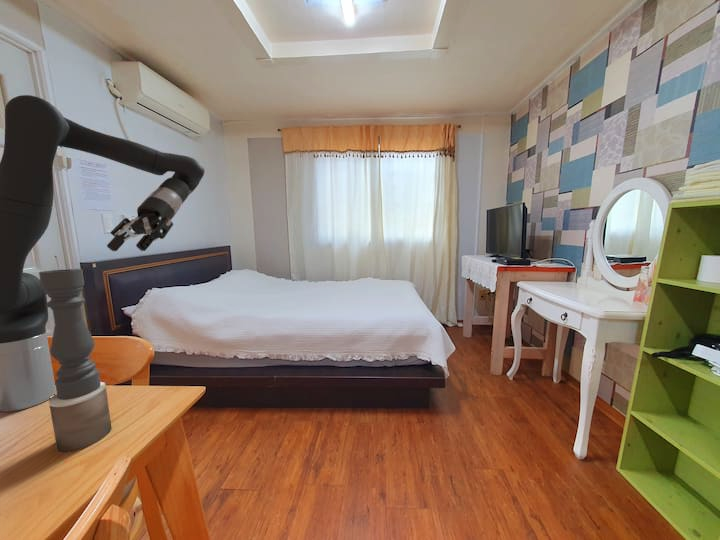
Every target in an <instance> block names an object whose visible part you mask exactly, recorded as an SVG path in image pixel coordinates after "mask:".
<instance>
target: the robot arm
mask: <svg viewBox="0 0 720 540" xmlns="http://www.w3.org/2000/svg"><path fill="white" fill-rule="evenodd" d="M58 147H63V148H66V149H72V150H76V151H80V152H83V153H88V154H92V155H95V156H98V157H101V158H105V159H107V160H111V161H114V162H116V163H119V164H122V165H126V166H128V167H131V168H134V169H137V170H141V171H143V172H146V173H150V174H153V175H155V176H164V175H165V174H167V173H168V172H171V173H173V172H174V173H173V175H172V176H171V177H168V178H166V179H165V180H163V182H162V183H160V185H159V186H158V187H157V188H156V189H154V190H153V191H152V192H151V193H149V195H148V196H147V198H145V200H144V201H143V202H141V204H140V205H139V206H138V207H137V209H136V212H137V216H136V217H135V218H134V219H132V220H130V219H129V218H128V217H125V218H123V219H122V220H121V221H120V222H119V223H118V224H117V225H116V226H115V227H114V228H113V229H112V230H111V231H110V235H112V236H114V237H113V238H112V239H111V240H110V241H109V243H107V244H106V247H107V248H108V249H109V250H110V251H112V252H117V251H118V250H119V249H120V248H121V247H122V246H123V245H124V243H125V242H126V241H127V240H129V239H131V238H133V239H134V238H136V237H138V236H140V235H143V236H141V238H140V240H139V241H138V242H137V243H136V244H135V246H136V247H137V248H138V249H139V251H141V252H145V251H146V250H147V249H148V248H150V246H151V244H152V243H153V242H155V241H157V240H158V239H160V240H163V239H165V237H166V236H167V235H168V233H169V232H170V231H171V229H172V227H173V226H174V223H173V221H172V219H173V218H174V217H175V216H176V214H177V213H178V212H179V210H180V209H181V207H182V205H184V204H183V203H184V202H185V201H186V200H187V199H188V197H189V195H191V194H192V193H193V192H194V191H195V189H196V188H197V187H198V186H199V184H200V182H201V180H202V179H203V177H204V176H205V168H204V166H203V164H202V163H201V162H199V161H198V160H197V159H195V158H193V157H191V156H187V155H182V154H175V153H171V152H169V153H168V152H163V151H159V150H157V149H154V148H152V147H149V146H146V145H144V144H141V143H140V142H139V143H138V142H135V141H131V140H128V139H125V138H121V137H117V136H113V135H111V134H110V135H109V134H106V133H103V132H100V131H96V130H93V129H91V128H89V127H85V126H84V125H81V124H80V123H77V122H75V121H72V120H71V119H69V118H67V117H64V116H63V114H62V113H61V112H60V110H59V109H57V107H56V106H55V105H53V104H52V103H50V102H49V101H48V100H45V99H43V98H41V97H39V96H35V95H31V94H30V95H29V94H26V95H25V94H24V95H23V94H20V95H18V96H16V97H13V98H11V99H10V100H8V102H7V103H6V105H5V108H4V145H3V152H2V156H1V160H0V411H1V412H2V413H10V412H16V411H21V410H24V409H29V408H31V407H34V406H37V405H39V404H42V403H44V402H46V401H49V400H50V399H49V398H50V397H51V396H53V395H54V393H55V392H56V393H57V391H56V385H55V382H56V381H55V377H54V371H53V365H52V358H51V357H52V356H51V353H50V346H49V341H48V336H47V335H48V334H47V329H46V326H47V323H48V320H49V309H48V308H49V307H47V306H46V304H47V303H48V297H47V296H48V295H47V294H46V293H45V290H44V289H42V288H41V282H40V277H38V276H36V275H34V274H31V273H29V272H24V268H25V264H26V260H27V258H28V255H29V254H30V252H32V249H33V248H34V247H35V245H36V244H37V243H38V242H39V241H40V239H41V238H42V237H43V235H44V234H45V233H46V230H47V229H48V228H49V224H50V220H51V217H52V216H51V215H52V211H53V205H54V188H55V187H54V176H53V175H54V173H53V171H54V170H53V169H54V167H53V166H54V161H55V157H56V155H57V154H56V153H57V150H58ZM131 230H132V231H131Z"/></svg>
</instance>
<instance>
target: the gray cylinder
mask: <svg viewBox="0 0 720 540" xmlns="http://www.w3.org/2000/svg"><path fill="white" fill-rule="evenodd" d="M100 383H101V385H100V387H99V388H98V389H97V390H95V391H93V392H91V393H89V394H87V395H84V396H81V397H77V398H74V399H68V400H60V399H58V397H57V393H56V394H55V395H54V396H53V397H52V398H50V399H48V404H49V410H50V416H51V421H52V422H51V423H52V427H53V432H54V440H55V444H56V445H55V446H56V450H57V451H58V452H59V453H70V452H76V451H78V450H81V449H85V448H87V447H89V446H92V445H94V444H96V443H97V442H99V441H101V440H102V439H103V438H105V437H106V436H108V434H110V432H111V431H112V421H111V413H110V409H109V406H110V405H109V399H108V393H107V386H106V382H102V381H100Z"/></svg>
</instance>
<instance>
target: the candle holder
mask: <svg viewBox="0 0 720 540" xmlns="http://www.w3.org/2000/svg"><path fill="white" fill-rule="evenodd" d="M83 271H84V270H83V269H82V268H70V269H69V268H66V269H53V270H46V271H45V270H44V271H39V272H38V274H39V279H40V282H41V288H42V289H44V290H45V293H46V296H48V297H47V298H50V300H49V301H47V304H46V306H47V307H48V308H50V309H51V310H52V314H53V321H54V329H53V334H52V340H51V345H50V348H49V351H50V356H51V357H52V358H53V359H55V360H56V361H59V362H58V364H59V365H60V367H59V369H58V370H57V372H56V373H55V377H56V379H55V381H54V382H55V389H56V394H57V397H58V399H60V400H68V399H74V398H77V397H81V396H84V395H87V394H89V393H91V392H93V391H95V390H97V389H98V388H99V387H100V385H101V383H100V382H101V378H100V370H99V369H98V368H96V367H97V363H96V362H95V361H93V360H91V359H90V358H91V356H92V355H91V354H92V352H93V350H94V348H95V340H94V338H93V336H92V334H91V332H90V331H89V329H88V327H87V325H86V323H85V320H84V317H83V309H82V307H83V304H84V303H85V301H86V299H85V298H84V297H82V296H80V295H81V294H82V291H83V289H84V287H83V286H85V280H84V279H85V278H84V272H83Z"/></svg>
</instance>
